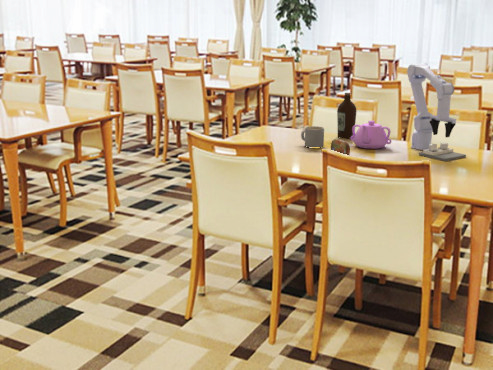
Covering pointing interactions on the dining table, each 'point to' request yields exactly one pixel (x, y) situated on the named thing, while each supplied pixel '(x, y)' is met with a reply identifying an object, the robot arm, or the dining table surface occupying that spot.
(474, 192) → the dining table surface
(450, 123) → the robot arm
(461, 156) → the board
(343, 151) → the mottled brown rounded slab
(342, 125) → the olive oil
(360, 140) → the teapot
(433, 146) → the pin
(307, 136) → the coffee mug
